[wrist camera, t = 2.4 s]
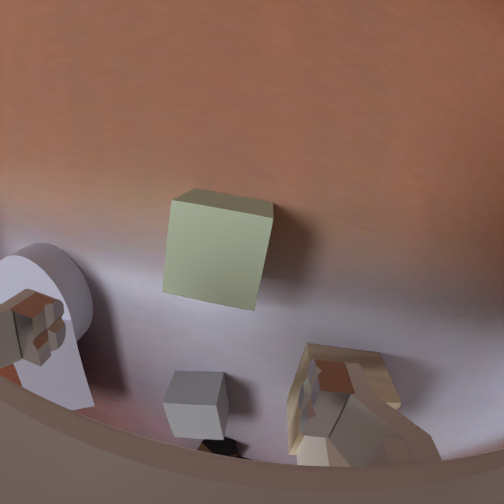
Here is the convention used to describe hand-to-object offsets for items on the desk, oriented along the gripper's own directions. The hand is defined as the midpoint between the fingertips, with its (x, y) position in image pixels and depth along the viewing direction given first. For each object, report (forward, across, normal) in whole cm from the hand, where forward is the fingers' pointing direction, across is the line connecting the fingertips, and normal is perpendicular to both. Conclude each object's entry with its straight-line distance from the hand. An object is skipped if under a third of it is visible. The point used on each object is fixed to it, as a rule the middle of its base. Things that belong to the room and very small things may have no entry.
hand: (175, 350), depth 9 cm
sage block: (+12, 0, -1) cm, 12 cm away
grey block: (+13, 0, +13) cm, 18 cm away
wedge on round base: (+13, +14, +9) cm, 21 cm away
